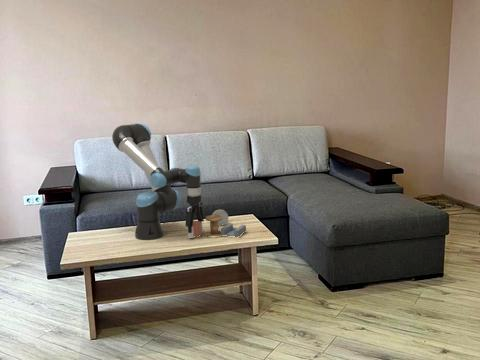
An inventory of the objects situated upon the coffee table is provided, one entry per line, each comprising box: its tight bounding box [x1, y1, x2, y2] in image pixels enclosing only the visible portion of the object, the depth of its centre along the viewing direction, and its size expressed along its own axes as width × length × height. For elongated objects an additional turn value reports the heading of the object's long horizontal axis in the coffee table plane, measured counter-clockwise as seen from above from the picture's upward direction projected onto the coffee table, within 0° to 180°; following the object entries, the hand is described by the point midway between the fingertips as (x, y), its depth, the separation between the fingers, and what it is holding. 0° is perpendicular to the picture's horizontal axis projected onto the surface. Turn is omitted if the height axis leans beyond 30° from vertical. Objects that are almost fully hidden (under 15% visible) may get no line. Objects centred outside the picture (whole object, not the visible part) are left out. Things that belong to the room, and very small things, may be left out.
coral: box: [211, 209, 229, 226], centre depth 290 cm, size 10×10×10 cm
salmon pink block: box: [192, 220, 201, 238], centre depth 269 cm, size 4×4×8 cm
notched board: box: [220, 223, 247, 237], centre depth 271 cm, size 10×11×4 cm
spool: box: [205, 214, 222, 237], centre depth 270 cm, size 9×9×10 cm
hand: (195, 235), depth 270 cm, fingers open, 9 cm apart
